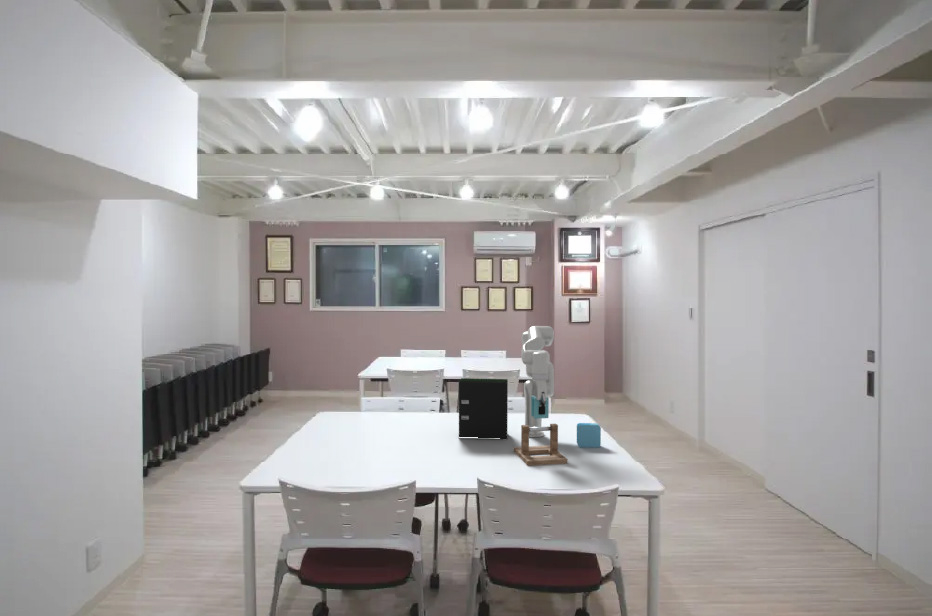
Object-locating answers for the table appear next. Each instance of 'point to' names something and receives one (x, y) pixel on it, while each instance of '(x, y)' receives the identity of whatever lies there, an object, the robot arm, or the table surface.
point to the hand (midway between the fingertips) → (539, 412)
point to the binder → (483, 408)
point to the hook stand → (540, 447)
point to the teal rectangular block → (536, 408)
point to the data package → (588, 435)
